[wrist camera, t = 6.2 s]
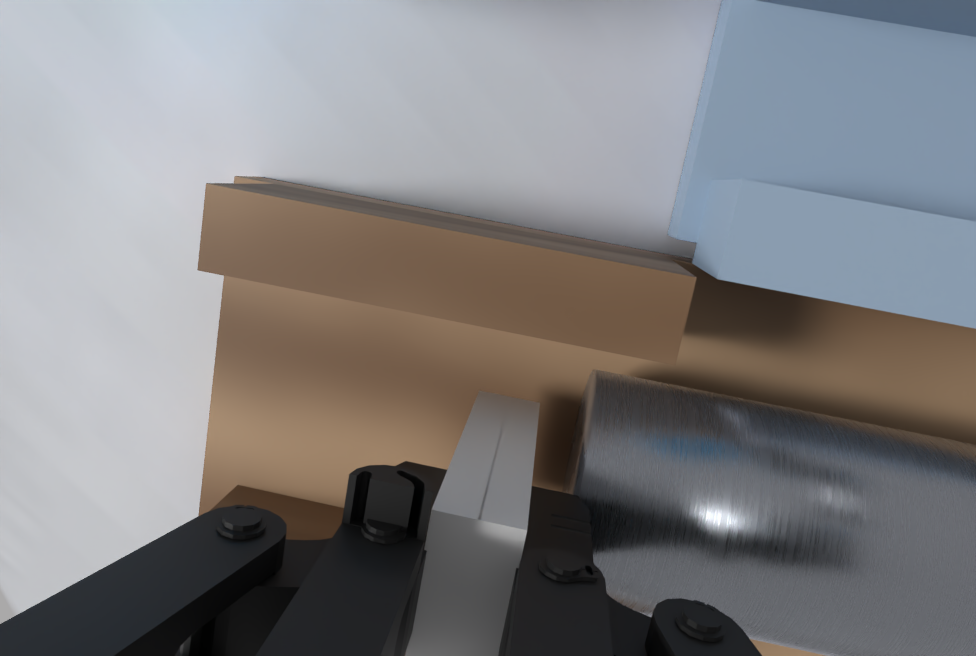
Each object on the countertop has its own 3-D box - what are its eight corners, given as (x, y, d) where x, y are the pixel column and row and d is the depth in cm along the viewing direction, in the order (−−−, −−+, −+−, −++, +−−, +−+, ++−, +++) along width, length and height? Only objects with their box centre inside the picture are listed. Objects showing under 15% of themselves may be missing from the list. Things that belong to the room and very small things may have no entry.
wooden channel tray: (259, 176, 20) (159, 174, 15) (1180, 352, 18) (1404, 413, 13) (220, 513, 22) (122, 607, 17) (1045, 695, 20) (1197, 856, 16)
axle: (553, 528, 19) (548, 646, 14) (592, 346, 18) (601, 408, 13) (1102, 645, 18) (1294, 812, 14) (1176, 461, 17) (1415, 571, 12)
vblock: (739, -77, 17) (798, -164, 13) (1175, -7, 17) (1390, -74, 12) (663, 253, 19) (692, 274, 15) (1057, 328, 18) (1210, 373, 14)
